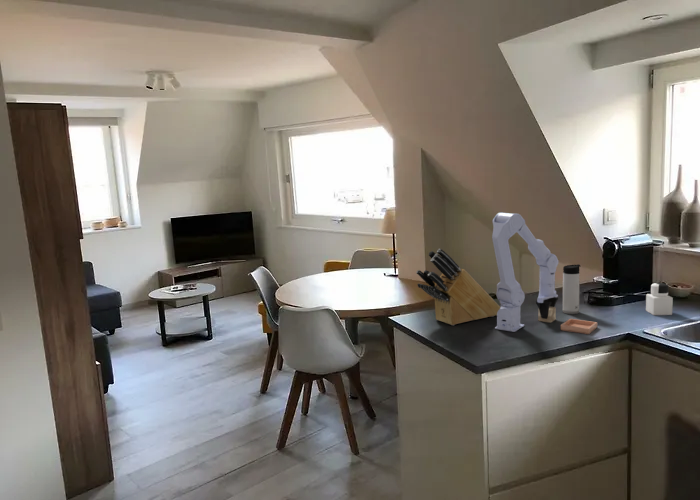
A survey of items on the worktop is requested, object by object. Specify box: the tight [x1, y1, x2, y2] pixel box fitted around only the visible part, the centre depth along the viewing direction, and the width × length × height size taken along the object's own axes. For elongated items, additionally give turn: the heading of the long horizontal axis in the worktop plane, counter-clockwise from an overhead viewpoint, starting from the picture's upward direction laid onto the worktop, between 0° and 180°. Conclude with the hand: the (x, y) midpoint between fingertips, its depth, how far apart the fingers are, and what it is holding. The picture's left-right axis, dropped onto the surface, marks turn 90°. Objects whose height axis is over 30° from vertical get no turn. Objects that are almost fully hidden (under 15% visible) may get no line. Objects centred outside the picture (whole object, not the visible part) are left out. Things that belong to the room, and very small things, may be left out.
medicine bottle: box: [645, 282, 674, 316], centre depth 217 cm, size 7×7×12 cm
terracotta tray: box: [560, 318, 598, 335], centre depth 203 cm, size 10×10×2 cm
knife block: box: [415, 248, 501, 326], centre depth 220 cm, size 11×35×31 cm, turn 117°
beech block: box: [537, 306, 557, 323], centre depth 215 cm, size 5×5×5 cm
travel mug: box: [562, 264, 581, 315], centre depth 224 cm, size 6×7×20 cm
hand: (546, 316), depth 216 cm, fingers closed on beech block, 5 cm apart
